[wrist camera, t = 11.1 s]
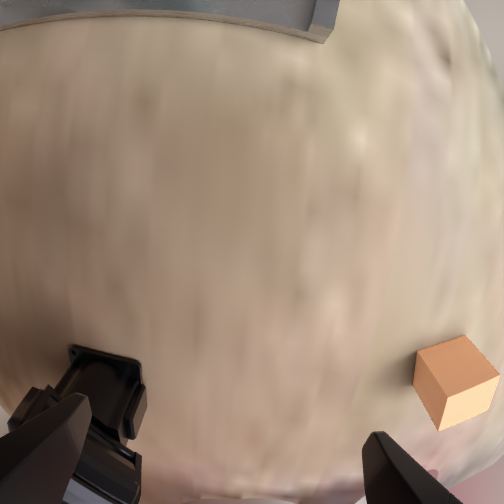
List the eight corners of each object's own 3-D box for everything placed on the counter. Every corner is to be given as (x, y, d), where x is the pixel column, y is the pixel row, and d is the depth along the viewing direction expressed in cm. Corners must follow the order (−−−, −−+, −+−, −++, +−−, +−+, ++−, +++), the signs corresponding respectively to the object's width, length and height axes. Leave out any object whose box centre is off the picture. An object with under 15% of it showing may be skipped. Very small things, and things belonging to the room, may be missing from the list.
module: (412, 384, 24) (438, 431, 19) (416, 350, 23) (447, 397, 17) (458, 369, 24) (487, 409, 18) (464, 334, 23) (500, 374, 17)
